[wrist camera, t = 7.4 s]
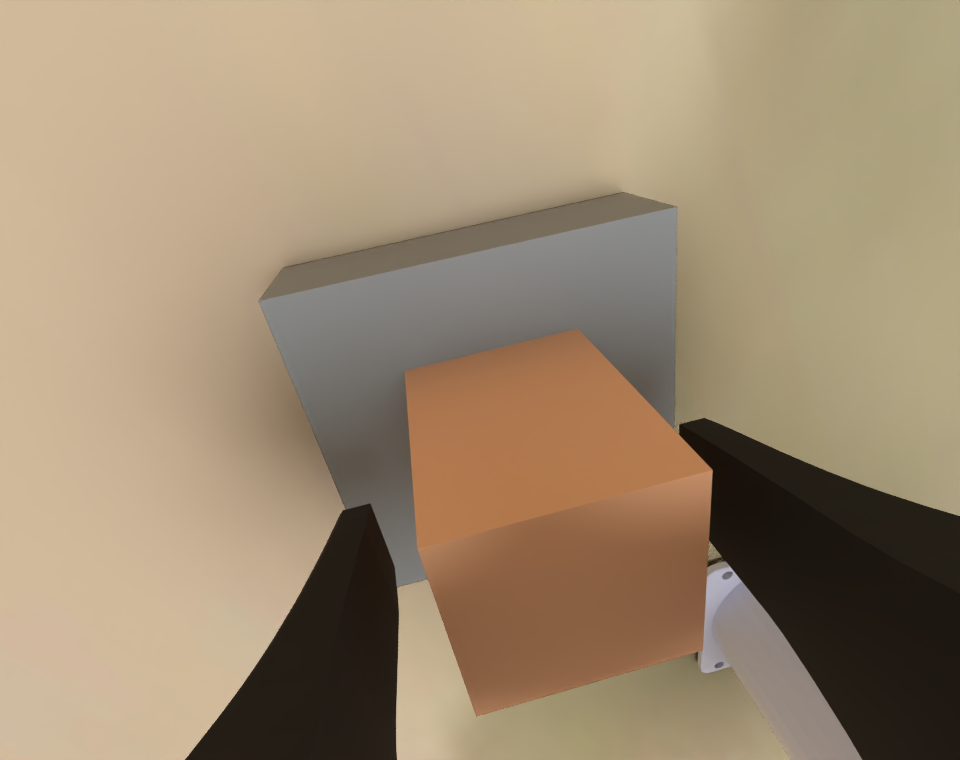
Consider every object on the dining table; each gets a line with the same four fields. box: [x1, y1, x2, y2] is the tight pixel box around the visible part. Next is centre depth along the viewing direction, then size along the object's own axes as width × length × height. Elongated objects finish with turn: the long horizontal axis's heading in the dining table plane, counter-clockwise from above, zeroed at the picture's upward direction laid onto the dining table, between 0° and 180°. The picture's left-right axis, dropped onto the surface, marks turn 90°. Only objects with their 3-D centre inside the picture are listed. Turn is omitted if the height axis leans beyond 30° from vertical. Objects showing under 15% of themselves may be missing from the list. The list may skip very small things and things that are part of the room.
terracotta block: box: [405, 329, 713, 716], centre depth 11 cm, size 5×5×6 cm
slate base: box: [259, 192, 677, 587], centre depth 15 cm, size 10×10×3 cm
